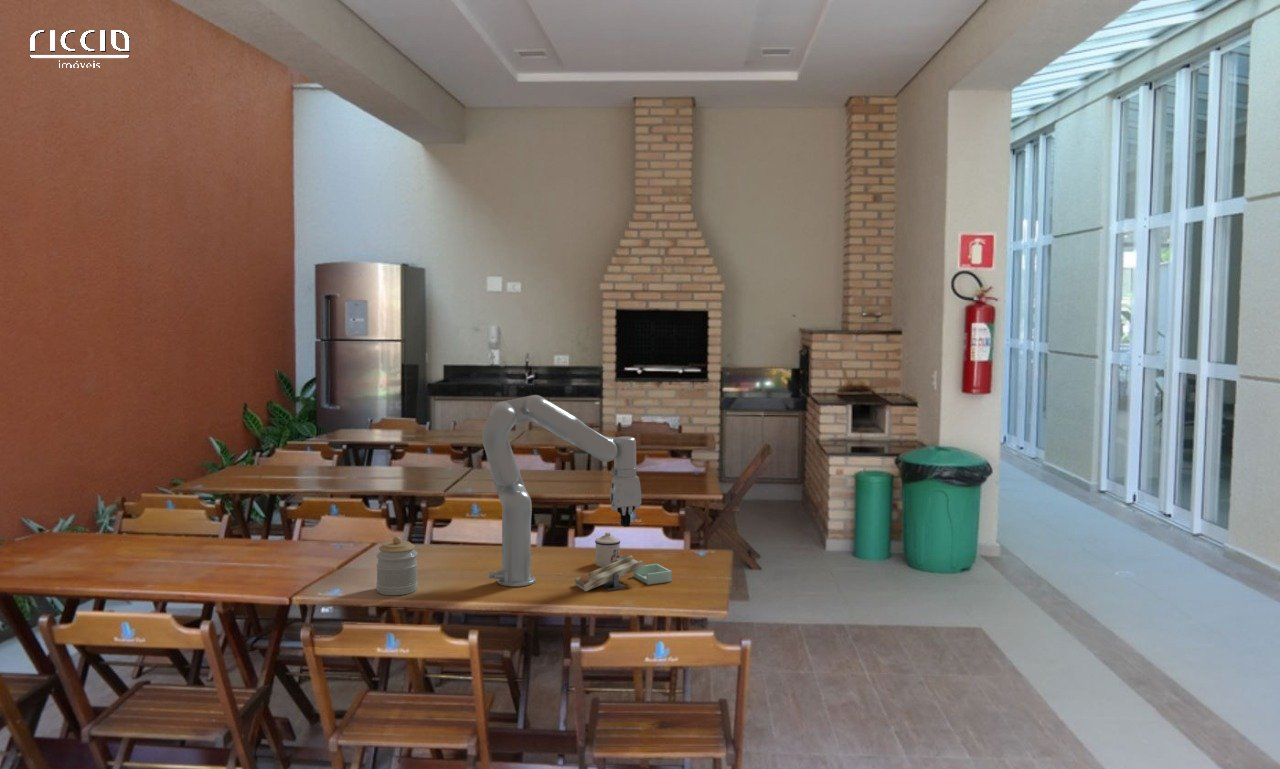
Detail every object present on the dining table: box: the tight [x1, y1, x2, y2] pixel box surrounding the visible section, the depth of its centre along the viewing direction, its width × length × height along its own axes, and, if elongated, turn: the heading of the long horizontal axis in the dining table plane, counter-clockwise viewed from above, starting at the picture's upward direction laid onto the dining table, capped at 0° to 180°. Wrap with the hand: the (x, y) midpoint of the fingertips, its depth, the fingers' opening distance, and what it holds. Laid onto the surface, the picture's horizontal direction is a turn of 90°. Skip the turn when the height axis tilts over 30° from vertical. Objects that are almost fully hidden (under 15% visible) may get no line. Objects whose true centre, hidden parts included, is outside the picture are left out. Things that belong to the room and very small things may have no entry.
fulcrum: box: [600, 567, 627, 591], centre depth 313 cm, size 6×12×5 cm, turn 27°
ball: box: [579, 573, 590, 583], centre depth 309 cm, size 3×3×3 cm
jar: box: [375, 535, 419, 596], centre depth 304 cm, size 13×13×18 cm
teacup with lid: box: [594, 532, 621, 568], centre depth 339 cm, size 12×9×12 cm
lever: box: [574, 554, 645, 592], centre depth 315 cm, size 22×13×3 cm, turn 117°
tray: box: [632, 563, 673, 586], centre depth 320 cm, size 9×11×4 cm
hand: (625, 525), depth 323 cm, fingers closed
